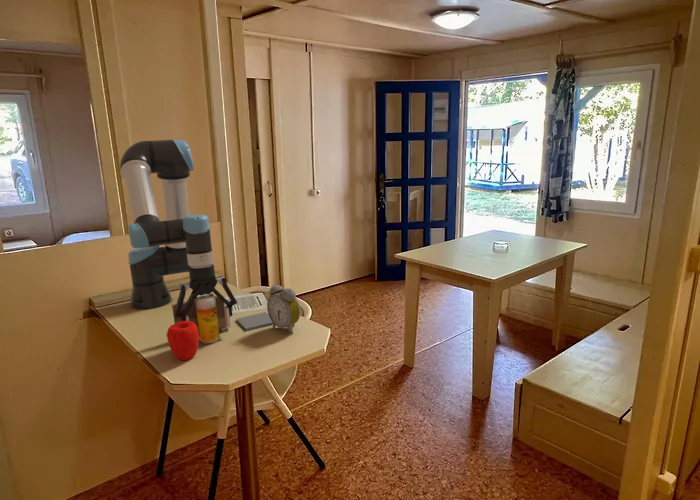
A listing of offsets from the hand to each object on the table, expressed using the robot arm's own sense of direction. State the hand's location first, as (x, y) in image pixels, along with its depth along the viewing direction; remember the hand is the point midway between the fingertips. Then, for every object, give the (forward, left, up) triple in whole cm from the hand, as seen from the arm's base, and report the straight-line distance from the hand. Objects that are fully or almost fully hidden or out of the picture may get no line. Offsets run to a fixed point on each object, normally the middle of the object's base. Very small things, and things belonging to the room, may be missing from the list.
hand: (209, 330), depth 145 cm
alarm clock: (+6, +24, -4) cm, 25 cm away
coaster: (-6, +18, -3) cm, 19 cm away
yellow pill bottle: (0, 0, -4) cm, 4 cm away
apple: (+8, -9, -4) cm, 13 cm away
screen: (-7, -1, -3) cm, 7 cm away
